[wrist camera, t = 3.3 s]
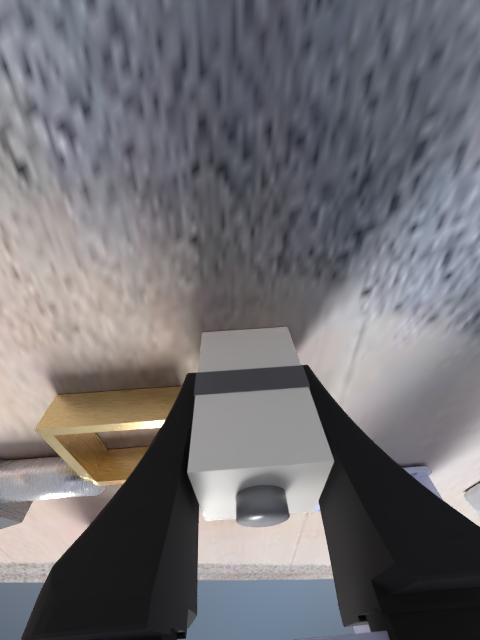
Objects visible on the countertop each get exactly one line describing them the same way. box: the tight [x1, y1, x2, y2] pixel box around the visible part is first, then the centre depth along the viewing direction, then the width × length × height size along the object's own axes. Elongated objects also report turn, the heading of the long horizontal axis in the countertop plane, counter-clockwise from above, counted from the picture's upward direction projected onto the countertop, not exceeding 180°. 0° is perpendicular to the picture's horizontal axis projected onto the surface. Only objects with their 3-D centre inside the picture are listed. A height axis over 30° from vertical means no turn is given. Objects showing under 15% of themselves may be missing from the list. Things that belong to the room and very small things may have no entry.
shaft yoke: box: [0, 386, 181, 529], centre depth 15 cm, size 23×10×3 cm, turn 92°
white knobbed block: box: [187, 327, 334, 527], centre depth 10 cm, size 4×4×7 cm
